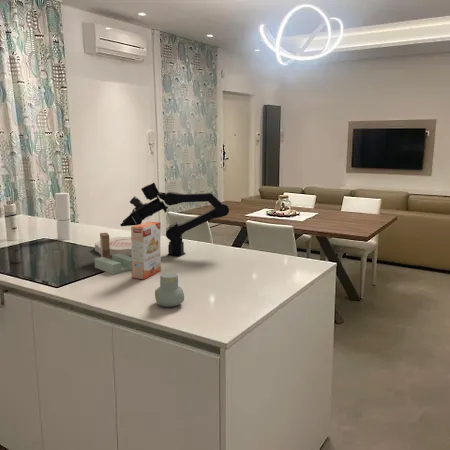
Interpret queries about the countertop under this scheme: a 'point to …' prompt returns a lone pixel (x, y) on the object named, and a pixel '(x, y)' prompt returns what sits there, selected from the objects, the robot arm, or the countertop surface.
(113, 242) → the decorative plaque
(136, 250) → the cracker box
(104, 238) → the photo frame
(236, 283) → the countertop surface
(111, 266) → the frame stand
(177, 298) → the air freshener
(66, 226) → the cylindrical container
